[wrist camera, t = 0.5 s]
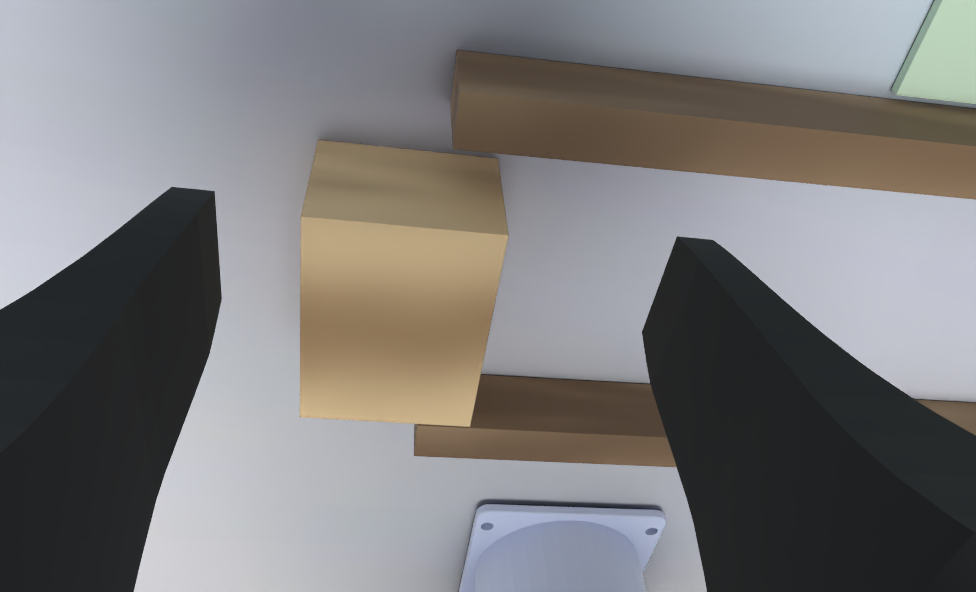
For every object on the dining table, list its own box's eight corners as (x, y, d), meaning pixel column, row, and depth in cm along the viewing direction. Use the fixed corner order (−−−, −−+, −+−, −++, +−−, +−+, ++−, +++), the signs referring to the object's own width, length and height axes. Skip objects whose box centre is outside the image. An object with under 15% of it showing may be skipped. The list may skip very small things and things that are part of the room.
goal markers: (876, 494, 34) (880, 500, 33) (697, 488, 33) (699, 494, 32) (1246, -22, 20) (1255, -19, 20) (965, -63, 19) (972, -60, 19)
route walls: (1082, 435, 32) (1125, 486, 30) (414, 401, 28) (413, 455, 26) (1341, 150, 24) (1422, 193, 22) (457, 49, 20) (460, 91, 18)
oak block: (465, 337, 27) (470, 426, 24) (315, 326, 26) (299, 417, 23) (497, 155, 23) (508, 235, 19) (318, 136, 22) (301, 216, 19)
